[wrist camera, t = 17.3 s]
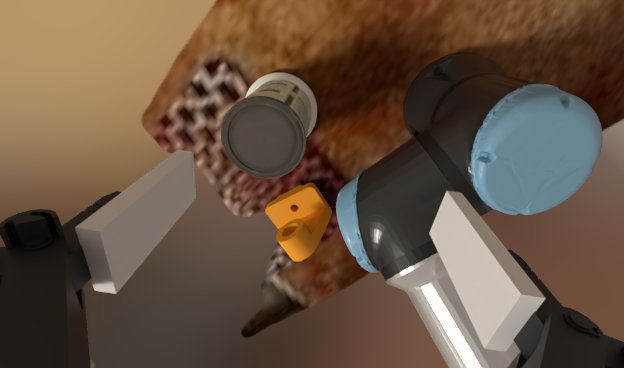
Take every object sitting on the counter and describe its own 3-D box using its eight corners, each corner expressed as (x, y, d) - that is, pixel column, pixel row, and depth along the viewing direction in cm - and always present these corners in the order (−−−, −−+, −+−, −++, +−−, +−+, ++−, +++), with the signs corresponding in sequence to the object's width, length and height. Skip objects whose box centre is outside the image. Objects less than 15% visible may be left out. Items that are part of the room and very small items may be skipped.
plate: (322, 78, 45) (322, 79, 44) (312, 149, 51) (311, 151, 50) (247, 66, 45) (244, 67, 44) (245, 139, 51) (243, 141, 50)
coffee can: (268, 150, 50) (246, 189, 38) (238, 94, 46) (203, 117, 34) (322, 129, 48) (319, 162, 35) (296, 67, 44) (282, 81, 31)
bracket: (313, 178, 54) (307, 214, 43) (331, 207, 56) (331, 248, 46) (266, 202, 57) (250, 241, 46) (286, 228, 60) (275, 271, 49)
